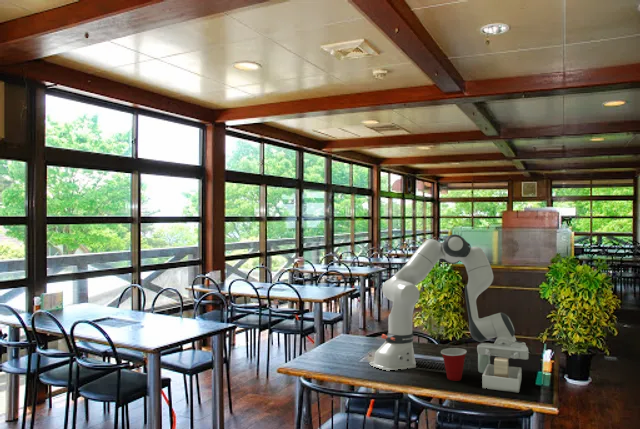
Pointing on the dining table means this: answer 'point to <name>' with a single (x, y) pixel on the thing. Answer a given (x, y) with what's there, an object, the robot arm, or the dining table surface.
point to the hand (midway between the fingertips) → (500, 355)
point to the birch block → (501, 367)
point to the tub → (502, 379)
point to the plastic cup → (454, 362)
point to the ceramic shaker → (483, 362)
